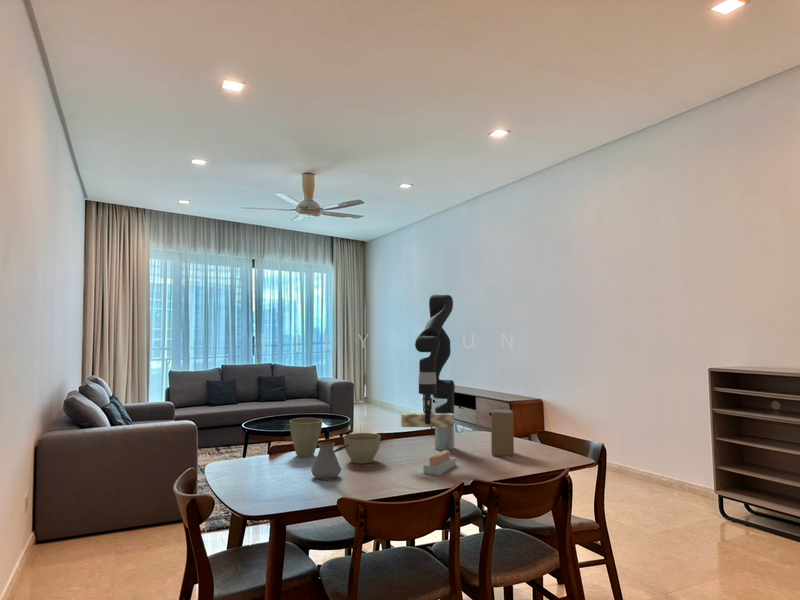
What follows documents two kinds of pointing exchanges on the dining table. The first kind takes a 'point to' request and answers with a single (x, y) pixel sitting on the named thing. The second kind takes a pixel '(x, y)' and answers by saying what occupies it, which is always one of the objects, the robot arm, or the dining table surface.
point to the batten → (419, 420)
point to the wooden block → (502, 433)
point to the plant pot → (305, 435)
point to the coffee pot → (327, 462)
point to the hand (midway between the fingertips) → (427, 422)
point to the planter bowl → (362, 446)
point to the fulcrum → (439, 463)
